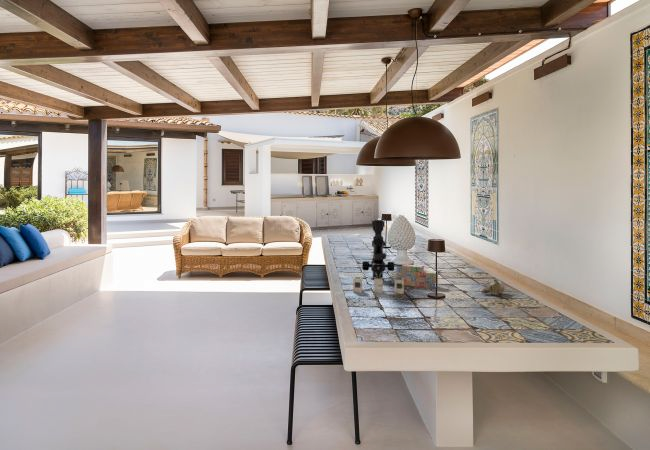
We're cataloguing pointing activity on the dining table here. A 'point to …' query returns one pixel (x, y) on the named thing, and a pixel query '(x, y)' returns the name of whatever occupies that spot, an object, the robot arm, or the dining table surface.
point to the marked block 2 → (399, 286)
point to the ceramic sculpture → (494, 288)
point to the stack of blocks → (418, 276)
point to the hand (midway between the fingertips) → (378, 277)
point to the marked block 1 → (357, 284)
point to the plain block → (378, 285)
